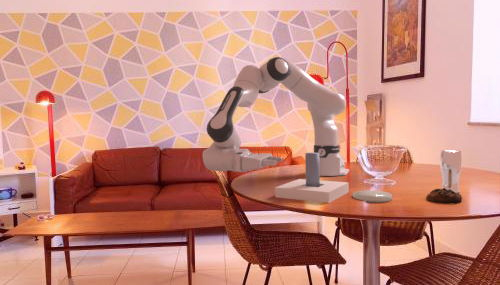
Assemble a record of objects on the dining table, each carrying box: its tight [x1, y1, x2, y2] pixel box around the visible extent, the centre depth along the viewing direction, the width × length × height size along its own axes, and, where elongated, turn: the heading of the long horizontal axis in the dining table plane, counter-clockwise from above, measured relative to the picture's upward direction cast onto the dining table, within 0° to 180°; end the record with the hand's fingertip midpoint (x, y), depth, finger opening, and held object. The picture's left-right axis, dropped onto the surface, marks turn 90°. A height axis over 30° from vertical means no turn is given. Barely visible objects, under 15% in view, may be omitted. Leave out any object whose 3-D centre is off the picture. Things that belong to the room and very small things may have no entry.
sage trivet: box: [352, 190, 393, 204], centre depth 140 cm, size 13×13×2 cm
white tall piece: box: [439, 149, 463, 194], centre depth 148 cm, size 7×7×15 cm
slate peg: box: [305, 152, 321, 187], centre depth 146 cm, size 5×5×15 cm
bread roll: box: [425, 188, 463, 204], centre depth 136 cm, size 11×11×5 cm
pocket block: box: [274, 178, 350, 204], centre depth 147 cm, size 20×20×4 cm
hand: (278, 161), depth 149 cm, fingers open, 8 cm apart
